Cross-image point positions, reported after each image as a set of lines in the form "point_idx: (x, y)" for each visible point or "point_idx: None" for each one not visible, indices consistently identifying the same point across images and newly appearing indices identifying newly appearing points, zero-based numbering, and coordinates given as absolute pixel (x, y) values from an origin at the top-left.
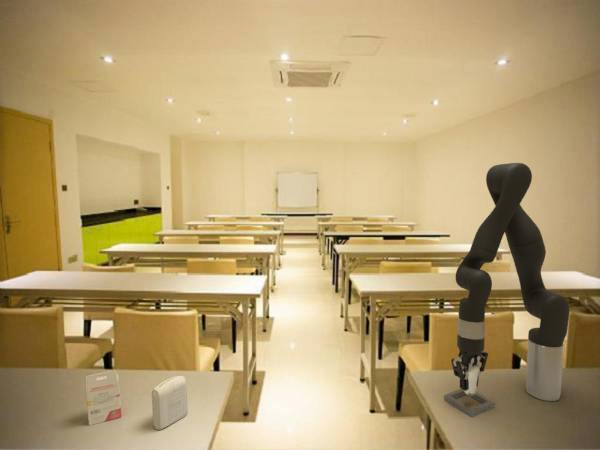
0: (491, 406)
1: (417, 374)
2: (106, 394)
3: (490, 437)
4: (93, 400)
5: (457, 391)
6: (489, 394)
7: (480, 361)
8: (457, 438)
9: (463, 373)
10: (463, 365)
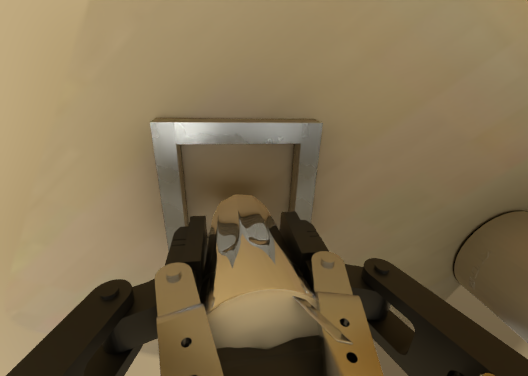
0: None
1: None
2: None
3: None
4: None
5: (245, 131)
6: (369, 183)
7: (417, 354)
8: (28, 309)
9: (202, 290)
10: (220, 332)
